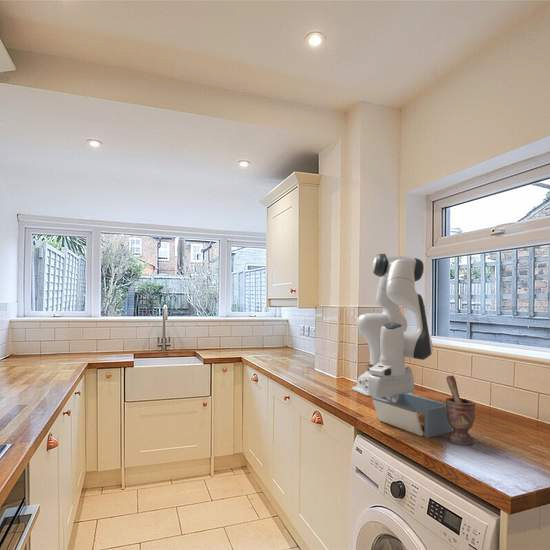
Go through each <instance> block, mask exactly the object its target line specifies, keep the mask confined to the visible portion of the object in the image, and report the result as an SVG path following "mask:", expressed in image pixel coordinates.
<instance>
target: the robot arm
mask: <svg viewBox="0 0 550 550" xmlns="http://www.w3.org/2000/svg"><path fill="white" fill-rule="evenodd" d="M371 267H372V272H373V274H374V275H375V276H377V277H379V280H378V281H379V282H378V285H377V290H376V296H375V302H376V304H377V305H378V306H379V307H381V308H382V312H375V313H373V312H368V313H364V314H360V315H359V316H358V317H357V319H356V324H355V325H356V330H357V331H358V332H359V333H360V334H361V335H362V336H363V337H364V339H365V340H366V342H367V344H368V347H369V348H368V349H369V363H368V364H366V365H365V368H367V369H366V371H365V372H364V373H362V374H361V375H359V376H358V377H357V381H356V385H354V386H352V387H351V390H352V391H355V392H357V393H360V394H362V395H365V396H366V397H367V396H369V397H371V398H372V397H375V398H380V397H386V398H387V400H388V401H391V402H395V403H397V400H398V398H399V394H405V393H411V392H412V393H414V391H415V380H414V374H413V370H412V368H410V366H406V359H405V358H409V359H417V360H421V361H424V360H426V359H427V358H429V357H430V356H431V355H432V353H433V341H432V338H431V335H430V332H429V325H428V319H427V313H426V309H425V308H426V307H425V302H424V299H423V296H422V294H419V293H418V292H417V290H416V288H415V282H418V281H419V280H421V279H422V277H423V276H424V271H425V267H424V262H423V261H422V260H421V259H420V258H417V257H411V256H406V255H398V254H386V253H378V254H377V255H376V256H375V257H374V259H373V261H372V264H371ZM400 307H402V308H405V309H407V310H409V311H411V312H413V313H414V315H415V323H416V329H417V331H407V329H408V321H407V319H406V317H405V316H404V315H403V314H402V312H401V310H400V309H401V308H400Z"/></svg>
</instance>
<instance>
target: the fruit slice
mask: <svg viewBox="0 0 550 550" xmlns="http://www.w3.org/2000/svg"><path fill="white" fill-rule="evenodd" d="M417 415H418V418H419V422H420V425H421V428H422V430H423V429H424V430H425V414H423V413H420V412H419V413H418V414H417Z"/></svg>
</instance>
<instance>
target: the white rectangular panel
mask: <svg viewBox="0 0 550 550" xmlns="http://www.w3.org/2000/svg"><path fill="white" fill-rule="evenodd" d="M371 399H372V403H373V405H374V406H373V407H374V409H375V413H376V416H377V420H378V419H379V420H378V421H380V422H383V423H385V424H388V425H391V426H393V427H396V428H399V429H402V430H404V431H407V432H409V433H412V434H415V435H417V436H421V437H422V436H423V435H424V432H423V428H421V425H420V422H419V418H418V415H417V411H416V409H414V408H411V407H408V406H404V405H401V404H398V403H395V402H391V401H388V400H385V399H382V398H375V397H372V396H371Z"/></svg>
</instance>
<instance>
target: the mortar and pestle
mask: <svg viewBox="0 0 550 550" xmlns="http://www.w3.org/2000/svg"><path fill="white" fill-rule="evenodd" d="M446 383H447V385H448V389H449V390H450V393H451V395H452V397H447V398H445V404H446V414H447V419H448V423H449V424H450V425H451V427H452V432H449V434H448V436H447V440H448V441H449V442H451V443H453V444H456V445H459V446H462V447H465V446H471V445H473V444H474V440H473V438H472V436H471V435H470V434H469V431H470V429H471V428H473V426H474V422H475V419H476V418H475V417H476V413H475V411H476V402H475V401H473V400H472V399H471V400H470V399H466V398H461V396H460V394H459V390H458V385H457V384H458V383H457V380H456V378H455V376H453V375H448V376H446Z"/></svg>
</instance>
